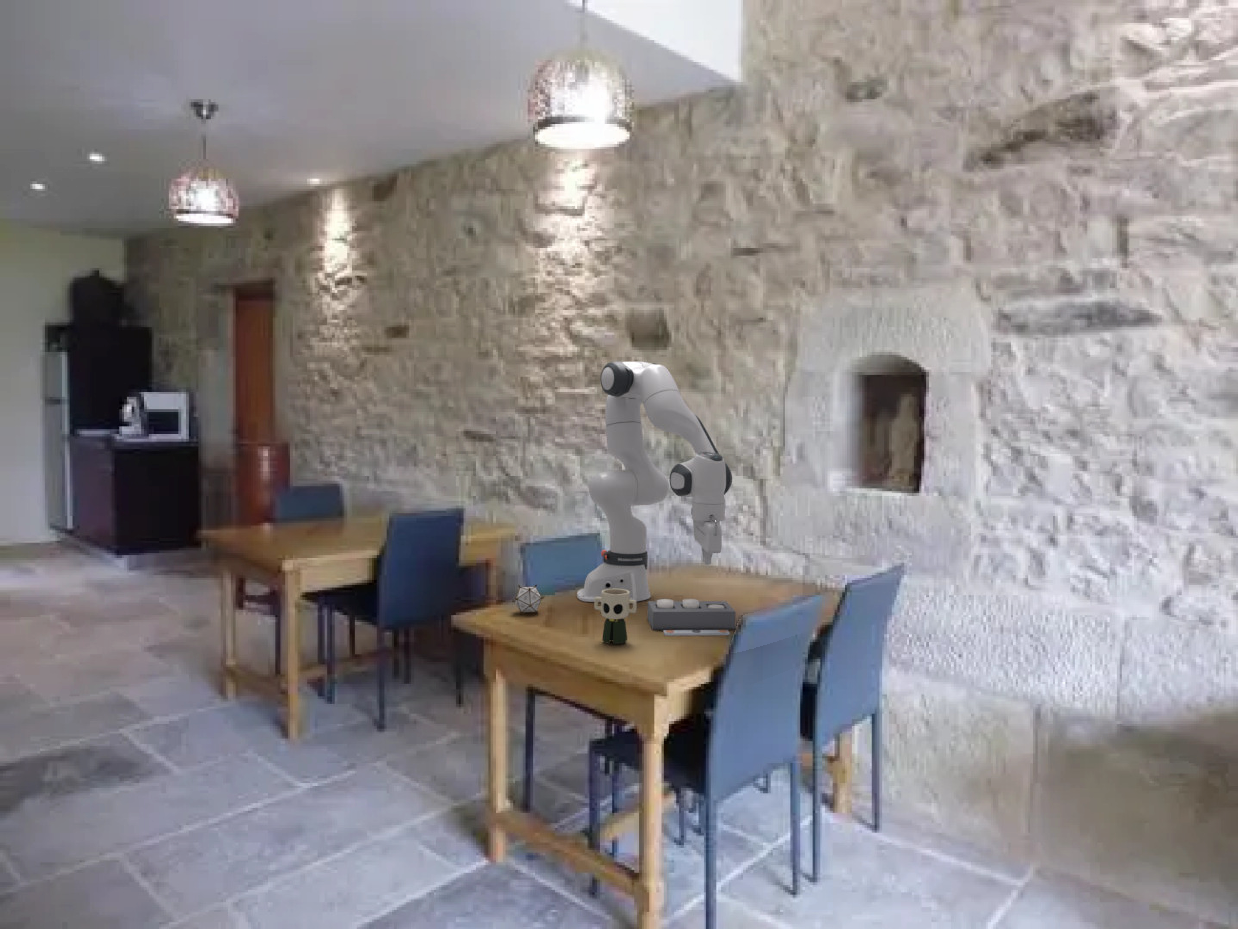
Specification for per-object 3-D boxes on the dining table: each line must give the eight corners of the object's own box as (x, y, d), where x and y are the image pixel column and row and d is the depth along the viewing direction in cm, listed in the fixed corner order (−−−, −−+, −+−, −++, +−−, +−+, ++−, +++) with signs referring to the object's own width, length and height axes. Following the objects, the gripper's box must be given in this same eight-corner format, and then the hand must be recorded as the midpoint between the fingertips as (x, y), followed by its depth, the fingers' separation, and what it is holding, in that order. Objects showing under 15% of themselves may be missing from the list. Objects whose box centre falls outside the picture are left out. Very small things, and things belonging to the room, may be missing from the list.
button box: (652, 630, 236) (653, 611, 235) (647, 619, 247) (647, 601, 247) (735, 630, 238) (735, 611, 237) (725, 618, 249) (726, 601, 249)
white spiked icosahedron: (520, 626, 252) (500, 597, 252) (542, 611, 257) (523, 582, 258) (533, 617, 245) (512, 587, 246) (555, 602, 250) (535, 572, 251)
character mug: (589, 644, 222) (590, 592, 221) (597, 637, 229) (598, 586, 228) (632, 648, 219) (633, 596, 218) (639, 640, 226) (640, 590, 225)
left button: (658, 613, 239) (658, 602, 239) (655, 609, 244) (656, 599, 243) (674, 613, 240) (674, 602, 239) (671, 609, 244) (672, 599, 244)
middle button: (683, 613, 240) (684, 602, 240) (681, 609, 244) (681, 599, 244) (700, 613, 240) (700, 602, 240) (697, 609, 245) (697, 598, 244)
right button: (709, 619, 241) (709, 608, 240) (706, 615, 245) (706, 604, 245) (725, 619, 241) (725, 608, 241) (722, 615, 245) (722, 604, 245)
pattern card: (664, 635, 231) (664, 632, 231) (663, 632, 234) (663, 629, 234) (729, 635, 232) (729, 632, 232) (727, 632, 235) (727, 629, 235)
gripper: (728, 518, 231) (726, 571, 232) (712, 507, 251) (710, 556, 252) (704, 518, 230) (702, 571, 231) (690, 507, 250) (688, 556, 251)
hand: (706, 563), depth 242 cm, fingers closed
